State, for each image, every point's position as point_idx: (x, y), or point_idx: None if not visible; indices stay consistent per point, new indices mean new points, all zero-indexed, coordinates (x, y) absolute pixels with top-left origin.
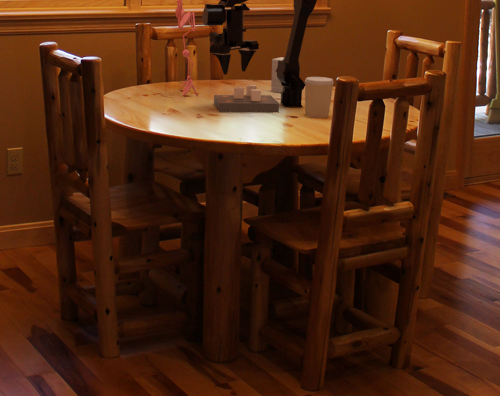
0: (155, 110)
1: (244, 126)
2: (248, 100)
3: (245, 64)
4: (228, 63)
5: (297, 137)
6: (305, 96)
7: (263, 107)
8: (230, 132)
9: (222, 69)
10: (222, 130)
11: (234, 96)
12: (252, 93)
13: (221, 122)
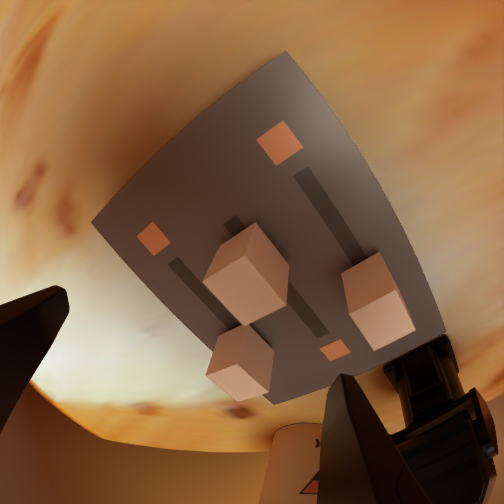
0: (13, 20)
1: (58, 340)
2: None
3: (325, 463)
4: (6, 401)
5: (93, 417)
6: (281, 471)
7: None
8: None
9: (16, 304)
10: None
11: (230, 241)
12: (211, 365)
13: (36, 282)
